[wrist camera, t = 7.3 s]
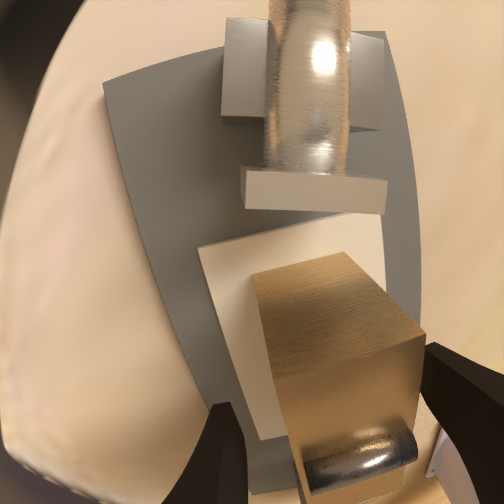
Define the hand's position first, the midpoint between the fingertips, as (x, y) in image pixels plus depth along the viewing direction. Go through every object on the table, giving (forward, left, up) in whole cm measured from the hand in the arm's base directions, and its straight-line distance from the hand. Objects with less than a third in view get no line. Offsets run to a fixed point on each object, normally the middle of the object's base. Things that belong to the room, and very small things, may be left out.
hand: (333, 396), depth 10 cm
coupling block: (0, 0, -3) cm, 3 cm away
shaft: (+10, -1, -3) cm, 10 cm away
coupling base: (0, 0, -4) cm, 4 cm away
